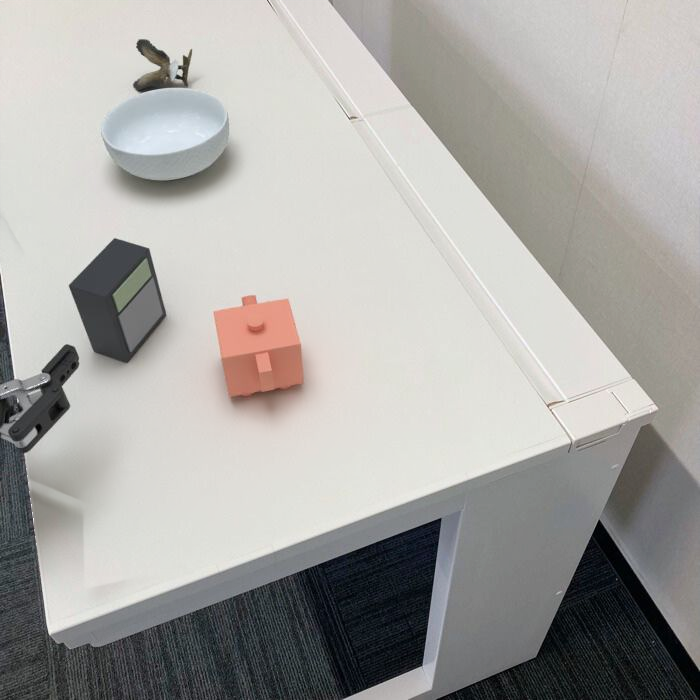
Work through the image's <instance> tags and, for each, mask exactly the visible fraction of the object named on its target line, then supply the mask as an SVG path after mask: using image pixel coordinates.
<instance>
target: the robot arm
mask: <svg viewBox="0 0 700 700" xmlns="http://www.w3.org/2000/svg"><path fill="white" fill-rule="evenodd" d="M5 336H6V329H5V328H4V326H3V324H2V322H1V321H0V341H1V340H3V338H5ZM79 360H80V356H79V354H78V351H77V349H76V347H75V345H74V346H73V345H71V344H68V343H66V344H64V345H63V346H62V347H61V349H60V350H59V351H58V352H57V353H55V355H54V356H53V357H52V358H51V359H50V360H49V361H48V363H46V365H45V366H43V368H42V369H41V373H39V374H36V375H34V376H31V377H28V378H26V379H23V380H21V379H19V378H14V379H12V380H8V381H6V382H3V383H2V382H1V381H0V440H1V439H3V440H5V441H7V442H9V443H12V444H13V445H14V446H15V448H16V450H17V451H18V452H19V453H20V454H26V453H29V452H30V451H31V450H32V449H33V448H34V447H35V446H36V445H37V444H38V443H39V442H40V441H41V440H42V439H43V438H44V436H45V435H46V434H47V433H48V432H49V431H50V430H51V429H52V428H53V427H54V426H55V425H56V424H57V423H58V422H59V420H60V419H62V417H63V416H64V415H65V414H66V413H67V412H68V411H69V410H70V408H71V403H70V401H69V400H68V397H67V395H66V393H65V390H64V388H63V386H64V385H65V384H66V383H67V382H68V381H69V379H70V378H71V377H72V376H73V374H74V373H75V372H76V371H77V370H78V369H79V366H80V361H79ZM37 390H39V391H37ZM35 391H36V392H35ZM33 392H34V393H33ZM30 393H31V394H30ZM11 397H16V398H17V400H18V402H17V403H15V404H13V405H12V399H11Z"/></svg>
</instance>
